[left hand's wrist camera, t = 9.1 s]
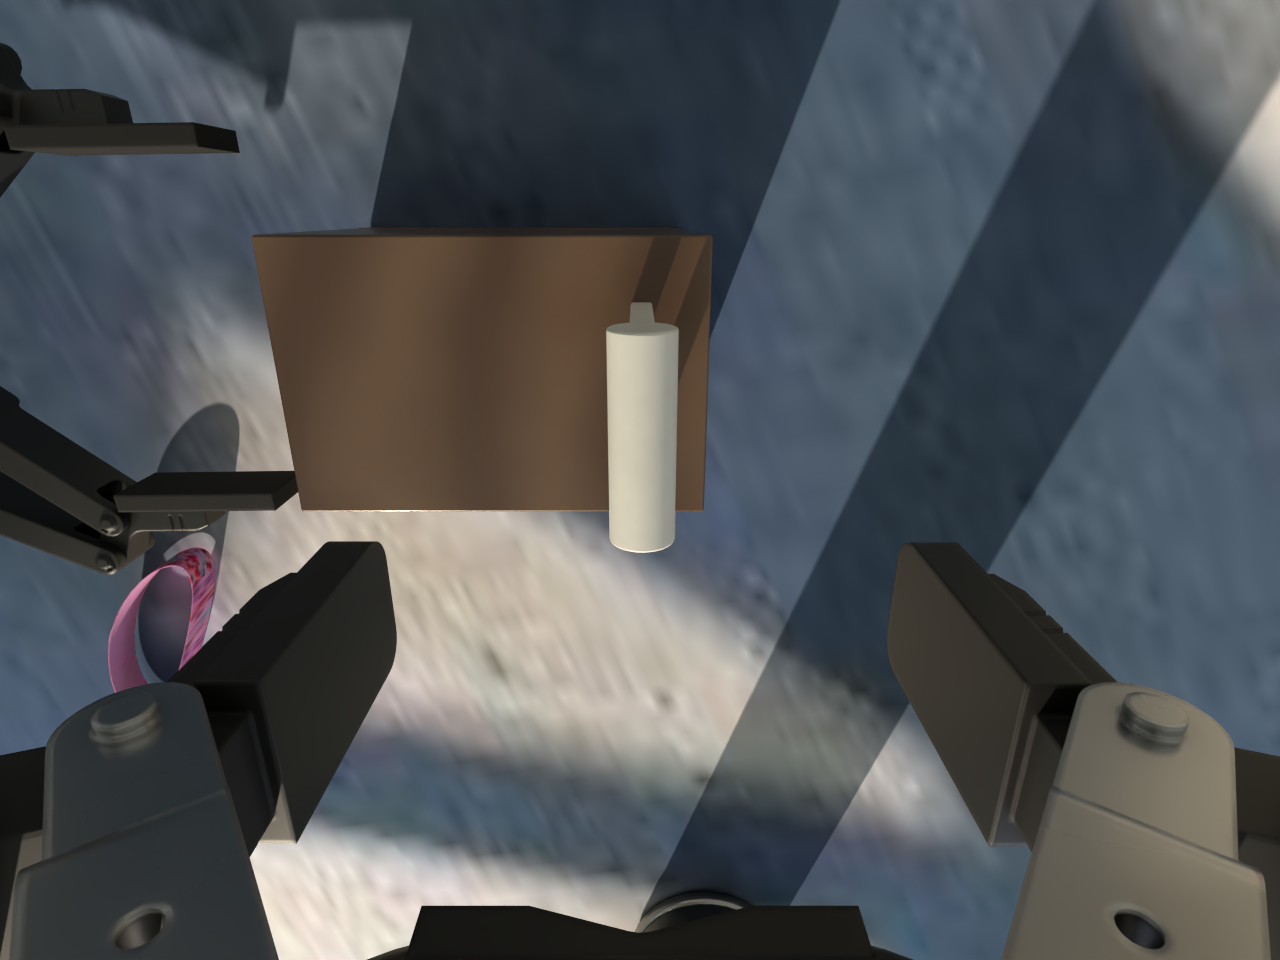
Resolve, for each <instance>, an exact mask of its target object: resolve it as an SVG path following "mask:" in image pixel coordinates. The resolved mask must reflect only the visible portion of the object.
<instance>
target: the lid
mask: <svg viewBox="0 0 1280 960" xmlns="http://www.w3.org/2000/svg"><path fill="white" fill-rule="evenodd" d="M252 241H253V247H254V252H255V258H256V263H257V269H258V274H259V279H260V285H261V290H262V296H263V301H264V307H265V312H266V318H267V323H268V329H269V334H270V339H271V345H272V350H273V356H274V361H275V367H276V372H277V378H278V383H279V389H280V394H281V399H282V405H283V410H284V416H285V421H286V427H287V432H288V438H289V443H290V449H291V454H292V459H293V465H294V470H295V476H296V481H297V487H298V492H299V498H300V503H301V509H302V511H609V528H610V540H611V542H612V543H613V544H614V545H615V546H616V547H618V548H620V549H623V550H626V551H631V552H654V551H659V550H662V549H664V548H667V547H668V546H670V545H671V544H672V543H673V541H674V539H675V511H703V509H704V484H705V455H706V426H707V397H708V368H709V339H710V310H711V281H712V252H713V236H712V235H709V234H261V235H253V236H252Z"/></svg>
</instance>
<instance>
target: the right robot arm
mask: <svg viewBox="0 0 1280 960" xmlns="http://www.w3.org/2000/svg"><path fill="white" fill-rule="evenodd" d="M21 70H22V65H21V60H20V58H19V56H18V54H17V53H16V52H15V51H14V50H13V49H12V48H11V47H9V46H8V45H6V44H3V43H0V197H1V196H2V194H3V193H4V192H5V191H6V189H7V188H8V187H9V185H10V184H11V183H12V181H13V180H14V179H15V178H16V176H17V175H18V174H19V172H20V171H21V170H22V168H23V167H24V166H25V165H26V163H27V162H28V161H29V159H30V158H31V157H32V155H33V154H34V153H35V152H40V153H50V154H60V155H128V154H195V153H240V152H239V147H238V142H237V137H236V131H233V130H228V129H223V128H218V127H213V126H208V125H203V124H198V123H193V122H189V123H133V121H132V116H131V112H130V108H129V104H128V101H126V100H123V99H121V98H118V97H116V96H113V95H109V94H105V93H100V92H96V91H91V90H87V89H57V90H55V89H51V90H32V89H31V88H30V87H29V86H27V84H26V83H25V81H24V80H23V78H22V77H21V75H20V74H21ZM19 402H20V401H19V399H18V398H17V397H16V396H15V395H13V394H12V393H10V392H8V391H7V390H5V389H4V388H2V387H1V386H0V535H2V536H4V537H7V538H10V539H12V540H15V541H18V542H20V543H23V544H25V545H28V546H31V547H33V548H36V549H39V550H41V551H44V552H47V553H49V554H52V555H54V556H57V557H60V558H62V559H65V560H68V561H70V562H73V563H76V564H78V565H81V566H83V567H86V568H89V569H91V570H94V571H97V572H99V573H102V574H107V575H109V574H113V573H115V572H117V571H118V570H120V569H121V568H122V567H124V566H126V565H127V564H128V563H130V562H131V561H133V560H134V559H136V558H137V557H139V556H140V555H142V554H143V553H144V552H146V551H147V550H149V549H150V548H152V547H153V545H154V543H155V538H154V536H153V534H152V533H151V531H174V530H175V531H183V530H185V531H198V530H200V529H202V528H205V527H207V526H209V525H210V524H212V523H213V522H214V521H216V520H217V519H218V518H220V517H221V516H223V515H224V514H225V513H226V512H225V511H261V510H276V509H278V508H279V507H280V506H281V505H283V504H284V503H285V502H286V501H287V500H289V499H290V498H291V497H292V496H294V495H295V494H296V493H297V492H298V487H297V481H296V476H295V471H250V472H174V473H154V474H152V475H150V476H149V477H147V478H145V479H143V480H141V481H139V482H135V481H134V480H132V479H131V478H129V477H128V476H126V475H124V474H123V473H121V472H120V471H118V470H117V469H115V468H114V467H112V466H110V465H109V464H107V463H106V462H104V461H103V460H101V459H99V458H98V457H96V456H95V455H93V454H92V453H90V452H88V451H87V450H85V449H84V448H82V447H81V446H79V445H77V444H76V443H74V442H73V441H71V440H70V439H68V438H66V437H65V436H63V435H62V434H60V433H59V432H57V431H55V430H54V429H52V428H51V427H49V426H48V425H46V424H45V423H43V422H41V421H40V420H38V419H37V418H35V417H34V416H32V415H30V414H29V413H27V412H26V411H24V410H23V409H21V408H20V407H19Z"/></svg>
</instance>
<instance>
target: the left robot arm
mask: <svg viewBox="0 0 1280 960" xmlns="http://www.w3.org/2000/svg"><path fill="white" fill-rule="evenodd" d="M396 643H397V632H396V624H395V617H394V610H393V602H392V595H391V588H390V581H389V574H388V567H387V560H386V555H385V551H384V549H383V547H382V545H381V544H380V543H379V542H327V543H325V544H324V545H323V546H322V547H321V548H320V549H319V550H318V551H317V552H316V553H315V554H314V556H313V557H312V558H311V559H310V560H309V561H308V562H307V563H306V564H305V565H304V566H303V567H302V568H301V569H300V570H299V571H298V572H297V573H289V574H288V575H286V576H284V577H282V578H280V579H279V580H277V581H275V582H273V583H271V584H269V585H268V586H266V587H264V588H262V589H260V590H259V591H258V592H257V593H256V594H255V595H254V596H253V597H252V598H251V599H250V600H249V601H248V602H247V603H246V604H245V605H244V606H243V607H242V608H241V609H240V612H239V614H235V615H234V616H233V617H232V618H231V619H230V620H229V621H228V622H227V623H226V624H225V625H224V626H223V629H222V631H218V632H217V633H216V634H215V635H214V636H213V637H212V638H211V639H210V640H209V641H208V642H207V643H206V644H205V645H204V646H203V647H202V648H201V649H200V650H199V651H198V652H197V653H196V654H195V655H194V656H193V657H192V658H191V659H190V660H189V661H188V662H187V663H186V664H185V665H184V666H183V667H182V668H181V669H180V670H179V671H178V672H177V673H176V674H175V675H174V676H173V677H172V678H171V679H170V680H169V681H168V682H160V683H151V684H145V685H140V686H136V687H132V688H129V689H125V690H122V691H119V692H116V693H113V694H111V695H108V696H106V697H104V698H101V699H99V700H97V701H95V702H93V703H91V704H89V705H87V706H86V707H84V708H82V709H81V710H79V711H78V712H76V713H75V714H73V715H72V716H71V717H69V718H68V719H67V720H65V721H64V722H63V723H62V724H61V725H60V726H59V727H58V728H57V729H56V730H55V731H54V733H53V734H52V735H51V736H50V738H49V740H48V742H47V745H46V747H41V748H36V749H31V750H26V751H21V752H16V753H11V754H5V755H0V960H279V959H278V955H277V952H276V948H275V945H274V941H273V938H272V934H271V931H270V927H269V924H268V920H267V917H266V913H265V910H264V907H263V903H262V900H261V896H260V893H259V889H258V886H257V882H256V879H255V875H254V872H253V868H252V865H251V861H250V858H249V857H250V856H251V854H252V852H253V851H254V849H255V848H256V846H257V844H297V842H298V840H299V838H300V836H301V834H302V833H303V831H304V829H305V827H306V825H307V823H308V822H309V820H310V818H311V816H312V814H313V812H314V810H315V809H316V807H317V805H318V803H319V801H320V799H321V798H322V796H323V794H324V792H325V790H326V788H327V787H328V785H329V783H330V781H331V779H332V777H333V776H334V774H335V772H336V770H337V768H338V766H339V765H340V763H341V761H342V759H343V757H344V755H345V753H346V752H347V750H348V748H349V746H350V744H351V742H352V741H353V739H354V737H355V735H356V733H357V731H358V730H359V728H360V726H361V724H362V722H363V720H364V719H365V717H366V715H367V713H368V711H369V709H370V708H371V706H372V704H373V702H374V700H375V698H376V696H377V695H378V693H379V691H380V689H381V687H382V685H383V684H384V682H385V680H386V678H387V676H388V674H389V673H390V670H391V668H392V665H393V662H394V658H395V653H396ZM887 648H888V656H889V661H890V664H891V667H892V670H893V672H894V674H895V676H896V678H897V680H898V682H899V683H900V685H901V687H902V689H903V691H904V692H905V694H906V696H907V698H908V700H909V701H910V703H911V705H912V707H913V709H914V711H915V712H916V714H917V716H918V718H919V720H920V721H921V723H922V725H923V727H924V729H925V731H926V732H927V734H928V736H929V738H930V740H931V741H932V743H933V745H934V747H935V749H936V751H937V752H938V754H939V756H940V758H941V760H942V761H943V763H944V765H945V767H946V769H947V771H948V772H949V774H950V776H951V778H952V780H953V781H954V783H955V785H956V787H957V789H958V791H959V792H960V794H961V796H962V798H963V800H964V801H965V803H966V805H967V807H968V809H969V810H970V812H971V814H972V816H973V818H974V820H975V821H976V823H977V825H978V827H979V829H980V830H981V832H982V834H983V836H984V838H985V840H986V841H987V843H988V845H989V846H1028V847H1029V848H1030V850H1031V852H1032V854H1031V858H1030V861H1029V865H1028V868H1027V872H1026V875H1025V879H1024V882H1023V886H1022V889H1021V893H1020V896H1019V900H1018V903H1017V907H1016V910H1015V913H1014V917H1013V920H1012V924H1011V927H1010V931H1009V934H1008V938H1007V941H1006V945H1005V948H1004V952H1003V955H1002V959H1001V960H1280V757H1279V756H1274V755H1269V754H1264V753H1259V752H1254V751H1249V750H1244V749H1239V748H1235V747H1234V745H1233V742H1232V740H1231V738H1230V736H1229V735H1228V734H1227V733H1226V731H1225V730H1224V729H1223V728H1222V727H1221V726H1220V725H1219V724H1218V723H1217V722H1216V721H1215V720H1213V719H1212V718H1211V717H1209V716H1208V715H1207V714H1205V713H1204V712H1202V711H1201V710H1199V709H1198V708H1196V707H1194V706H1193V705H1191V704H1189V703H1187V702H1185V701H1183V700H1181V699H1179V698H1176V697H1174V696H1172V695H1169V694H1167V693H1164V692H1161V691H1158V690H1155V689H1151V688H1148V687H1144V686H1140V685H1135V684H1129V683H1120V682H1117V681H1116V680H1115V679H1114V678H1113V677H1112V676H1111V675H1110V674H1109V673H1108V672H1107V671H1106V670H1105V669H1104V668H1103V667H1102V666H1100V665H1099V664H1098V663H1097V662H1096V661H1095V660H1094V659H1093V658H1092V657H1091V656H1090V655H1089V654H1088V653H1087V652H1086V651H1085V650H1084V649H1083V648H1082V647H1081V646H1080V645H1079V644H1078V643H1077V642H1076V641H1075V640H1074V639H1073V638H1072V637H1071V636H1070V635H1069V634H1068V633H1063V628H1062V627H1061V626H1060V625H1059V624H1058V623H1057V622H1056V621H1055V620H1054V619H1053V618H1052V617H1051V616H1046V611H1045V610H1044V609H1043V608H1042V607H1041V606H1040V605H1039V604H1038V603H1037V602H1036V601H1035V600H1033V599H1032V598H1031V597H1030V596H1029V595H1028V594H1027V593H1026V592H1025V591H1024V590H1022V589H1020V588H1018V587H1017V586H1015V585H1013V584H1011V583H1009V582H1007V581H1006V580H1004V579H1002V578H1000V577H998V576H997V575H995V574H987V573H986V572H985V571H984V570H983V569H982V568H981V567H980V566H979V564H978V563H977V562H976V561H975V560H974V559H973V558H972V557H971V556H970V555H969V554H968V553H967V552H966V551H965V550H964V549H963V548H962V547H961V546H960V545H959V544H957V543H905V544H904V545H903V546H902V548H901V550H900V552H899V556H898V561H897V567H896V574H895V581H894V588H893V595H892V602H891V609H890V616H889V623H888V631H887ZM368 960H912V959H910V958H907V957H904V956H902V955H899V954H896V953H893V952H891V951H888V950H885V949H882V948H878V947H874V946H871V945H870V942H869V938H868V935H867V932H866V929H865V926H864V923H863V919H862V916H861V913H860V910H859V907H858V906H750V905H749V904H747V903H746V902H744V901H742V900H740V899H737V898H735V897H732V896H729V895H725V894H720V893H712V892H696V893H688V894H683V895H679V896H676V897H673V898H670V899H668V900H665V901H663V902H661V903H660V904H658V905H656V906H655V907H654V908H652V909H651V910H650V911H649V912H648V913H647V914H646V915H645V916H644V917H643V918H642V920H641V921H640V923H639V925H638V927H637V929H636V932H630V931H625V930H621V929H618V928H614V927H610V926H606V925H602V924H598V923H594V922H590V921H586V920H582V919H578V918H574V917H571V916H567V915H563V914H559V913H555V912H551V911H547V910H543V909H539V908H535V907H531V906H422V907H421V910H420V913H419V916H418V919H417V923H416V926H415V929H414V932H413V935H412V938H411V942H410V945H409V946H406V947H402V948H398V949H395V950H392V951H389V952H387V953H384V954H381V955H378V956H376V957H373V958H370V959H368Z"/></svg>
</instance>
